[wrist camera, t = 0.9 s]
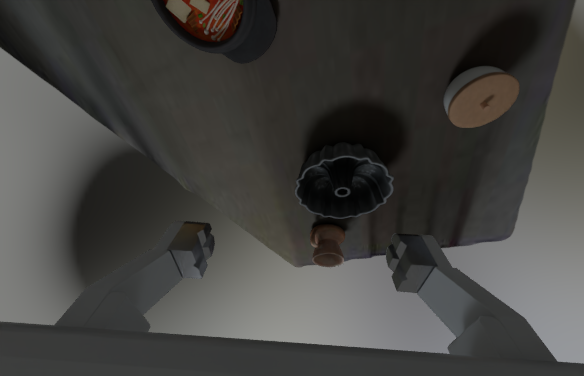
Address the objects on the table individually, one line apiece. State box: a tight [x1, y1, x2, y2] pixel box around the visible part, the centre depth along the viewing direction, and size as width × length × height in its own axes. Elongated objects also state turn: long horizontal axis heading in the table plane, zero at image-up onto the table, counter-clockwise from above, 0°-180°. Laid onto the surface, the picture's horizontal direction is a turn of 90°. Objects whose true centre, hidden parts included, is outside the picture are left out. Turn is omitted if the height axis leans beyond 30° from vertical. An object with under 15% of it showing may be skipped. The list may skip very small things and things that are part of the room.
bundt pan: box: [295, 142, 394, 219], centre depth 64 cm, size 26×26×10 cm
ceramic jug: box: [310, 224, 345, 267], centre depth 90 cm, size 18×14×14 cm
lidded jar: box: [443, 66, 520, 128], centre depth 44 cm, size 11×11×9 cm
